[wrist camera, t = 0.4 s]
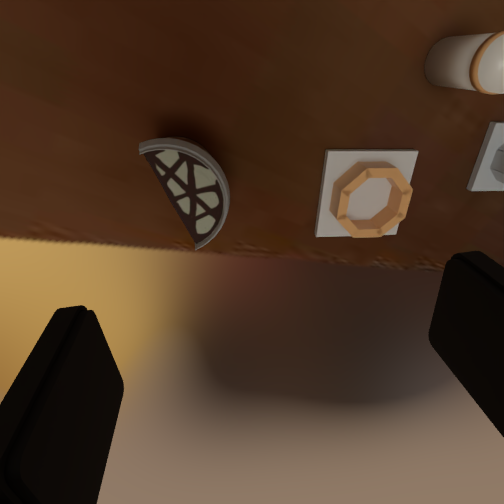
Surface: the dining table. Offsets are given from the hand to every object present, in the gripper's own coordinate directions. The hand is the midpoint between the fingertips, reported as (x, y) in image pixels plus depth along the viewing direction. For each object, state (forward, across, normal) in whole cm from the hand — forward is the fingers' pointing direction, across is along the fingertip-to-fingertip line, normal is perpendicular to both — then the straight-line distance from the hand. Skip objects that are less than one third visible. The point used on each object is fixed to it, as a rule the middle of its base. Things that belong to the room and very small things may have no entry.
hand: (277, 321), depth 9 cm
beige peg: (+35, -27, -4) cm, 44 cm away
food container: (+36, +4, +5) cm, 36 cm away
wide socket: (+35, -18, +12) cm, 41 cm away
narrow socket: (+35, -38, +9) cm, 53 cm away
